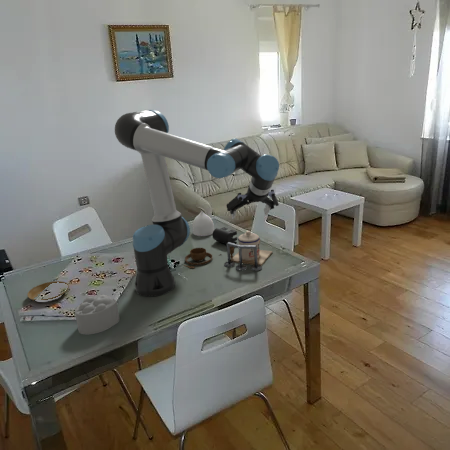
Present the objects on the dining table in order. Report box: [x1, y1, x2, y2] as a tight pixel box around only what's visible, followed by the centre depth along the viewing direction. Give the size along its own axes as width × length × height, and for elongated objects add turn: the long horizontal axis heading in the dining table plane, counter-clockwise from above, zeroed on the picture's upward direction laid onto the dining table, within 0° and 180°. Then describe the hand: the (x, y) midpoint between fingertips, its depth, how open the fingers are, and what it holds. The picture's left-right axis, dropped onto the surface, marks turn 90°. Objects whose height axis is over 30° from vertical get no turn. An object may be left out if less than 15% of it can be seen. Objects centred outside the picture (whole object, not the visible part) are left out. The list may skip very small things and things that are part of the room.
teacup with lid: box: [237, 230, 261, 261], centre depth 178 cm, size 12×9×12 cm
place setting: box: [182, 246, 235, 269], centre depth 178 cm, size 18×20×6 cm
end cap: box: [212, 226, 238, 245], centre depth 196 cm, size 10×7×7 cm
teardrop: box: [192, 210, 215, 237], centre depth 211 cm, size 11×11×12 cm
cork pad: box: [231, 249, 273, 267], centre depth 180 cm, size 14×14×1 cm
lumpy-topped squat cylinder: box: [74, 294, 120, 335], centre depth 137 cm, size 10×13×9 cm
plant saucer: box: [26, 280, 70, 302], centre depth 159 cm, size 15×15×3 cm
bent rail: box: [223, 242, 263, 272], centre depth 169 cm, size 6×16×10 cm, turn 64°
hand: (249, 214), depth 166 cm, fingers open, 13 cm apart
